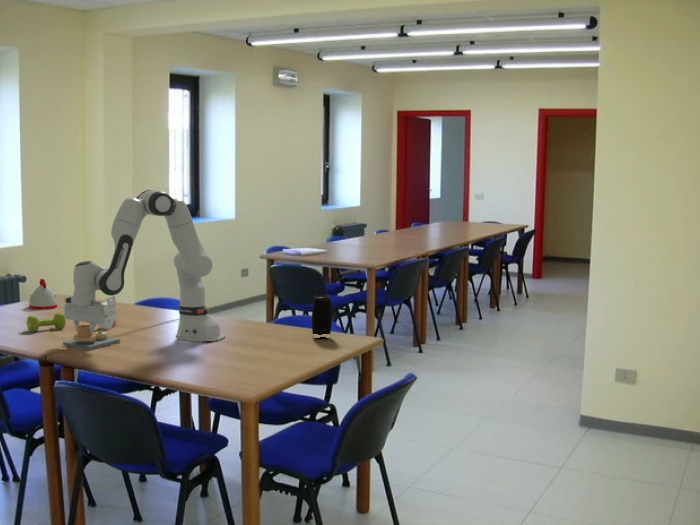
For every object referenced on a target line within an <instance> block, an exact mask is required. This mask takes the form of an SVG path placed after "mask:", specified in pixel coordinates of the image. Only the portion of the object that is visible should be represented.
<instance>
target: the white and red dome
mask: <svg viewBox="0 0 700 525" xmlns="http://www.w3.org/2000/svg"><path fill="white" fill-rule="evenodd" d="M28 308H29V309H31V310H40V311H41V310H43V311H44V310H53V309H57V308H58V299H57V294H56V293H54V291H53V289H51V288H50V287H49V286H48V285H47V284H46V281H45V279H44V278H40V279H39V285H38V286H37V287H36V288H35V289H34V291H33V292H32V294H30V296H29V304H28Z"/></svg>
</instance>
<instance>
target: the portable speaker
mask: <svg viewBox="0 0 700 525" xmlns="http://www.w3.org/2000/svg"><path fill="white" fill-rule="evenodd" d="M332 303H333V302H332V297H331V296H330V295H327V294H322V295H314V296H313V302H312V307H311V331H312V335H313V334H318V335H322V334H330V335H331V331H332V325H333V324H332V323H333V304H332Z"/></svg>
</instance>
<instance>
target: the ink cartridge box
mask: <svg viewBox="0 0 700 525" xmlns="http://www.w3.org/2000/svg"><path fill="white" fill-rule="evenodd" d="M101 303H102V305H103V307H104V312H105V322H104V323H102V324H98V329H99V328H104V329H103V330H109V329H112V328H114V327H116V326H117V305H116V304H117V302H116V295H112V296H110V297H107V298H106V301H104V302H101ZM111 327H112V328H111ZM108 328H109V329H108Z"/></svg>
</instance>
